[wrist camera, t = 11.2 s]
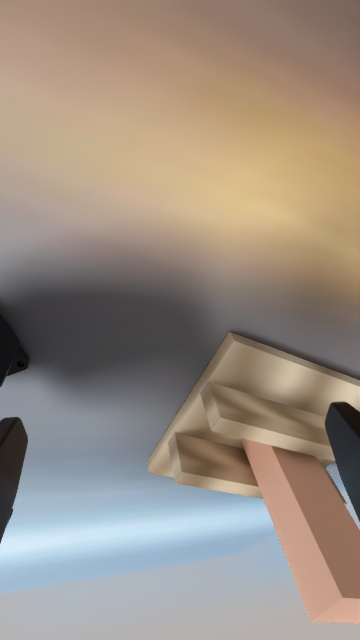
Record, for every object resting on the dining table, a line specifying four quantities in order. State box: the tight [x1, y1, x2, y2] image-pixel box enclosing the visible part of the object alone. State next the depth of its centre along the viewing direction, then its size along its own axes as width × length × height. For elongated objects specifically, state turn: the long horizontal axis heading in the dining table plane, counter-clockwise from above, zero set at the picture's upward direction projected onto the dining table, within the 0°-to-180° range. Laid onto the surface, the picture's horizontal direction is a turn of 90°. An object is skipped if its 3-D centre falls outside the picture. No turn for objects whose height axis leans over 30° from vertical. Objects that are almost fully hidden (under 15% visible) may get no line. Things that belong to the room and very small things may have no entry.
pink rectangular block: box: [241, 439, 360, 623], centre depth 23 cm, size 4×3×12 cm, turn 63°
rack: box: [148, 332, 360, 505], centre depth 28 cm, size 16×14×5 cm
